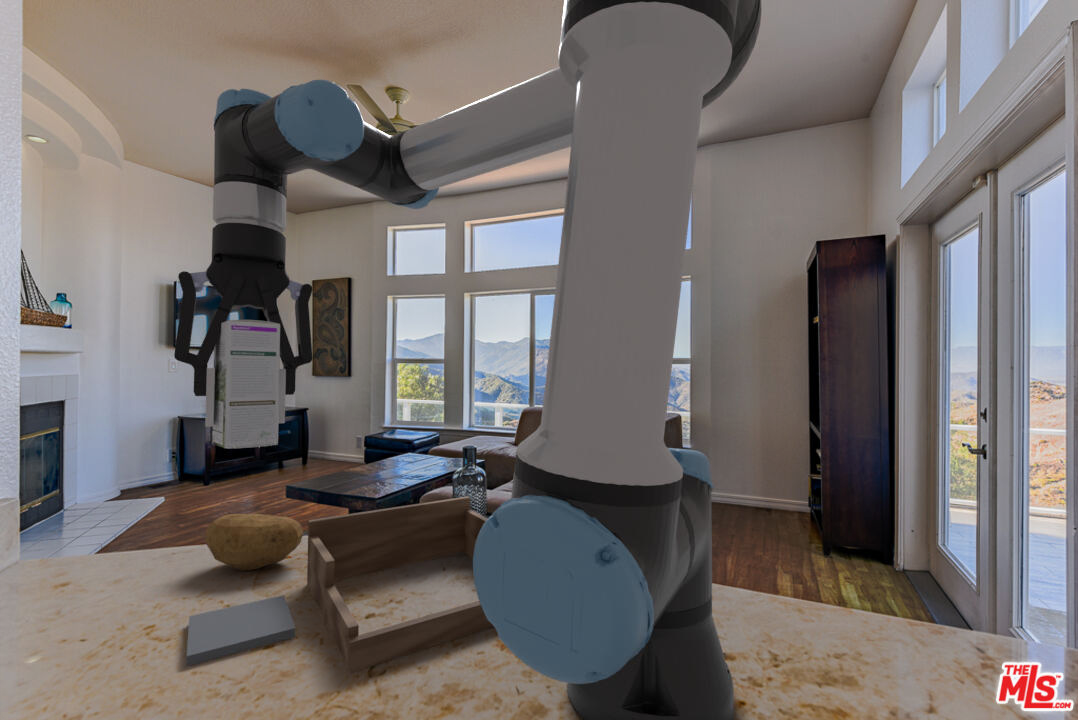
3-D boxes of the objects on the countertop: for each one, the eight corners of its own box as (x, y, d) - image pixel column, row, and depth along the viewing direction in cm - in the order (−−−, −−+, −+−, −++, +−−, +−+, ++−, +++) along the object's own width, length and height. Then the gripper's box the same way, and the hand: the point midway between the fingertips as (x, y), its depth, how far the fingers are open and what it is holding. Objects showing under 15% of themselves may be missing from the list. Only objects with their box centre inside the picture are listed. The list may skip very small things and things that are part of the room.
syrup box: (280, 445, 57) (284, 322, 58) (221, 450, 53) (226, 317, 54) (263, 440, 61) (267, 325, 62) (208, 444, 57) (213, 321, 58)
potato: (281, 580, 70) (283, 524, 71) (187, 578, 71) (189, 523, 71) (315, 555, 80) (316, 506, 80) (232, 554, 81) (233, 505, 81)
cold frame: (553, 607, 63) (553, 536, 63) (350, 673, 49) (351, 581, 49) (467, 549, 83) (467, 496, 84) (307, 584, 69) (308, 520, 69)
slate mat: (295, 636, 55) (295, 628, 55) (186, 666, 50) (186, 656, 50) (283, 602, 63) (283, 595, 63) (189, 624, 58) (189, 616, 58)
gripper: (330, 248, 67) (327, 417, 66) (149, 223, 56) (143, 425, 55) (343, 235, 60) (340, 422, 60) (142, 204, 50) (135, 432, 49)
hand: (245, 423), depth 57 cm, fingers closed on syrup box, 6 cm apart
